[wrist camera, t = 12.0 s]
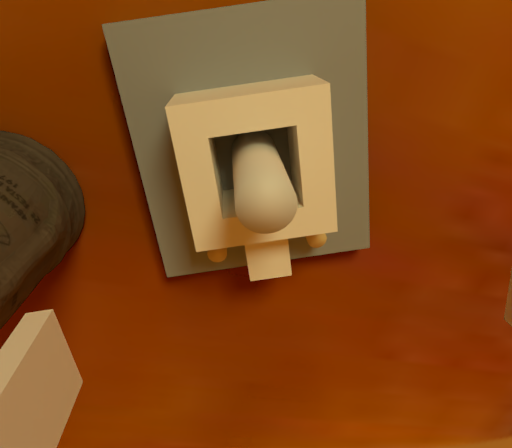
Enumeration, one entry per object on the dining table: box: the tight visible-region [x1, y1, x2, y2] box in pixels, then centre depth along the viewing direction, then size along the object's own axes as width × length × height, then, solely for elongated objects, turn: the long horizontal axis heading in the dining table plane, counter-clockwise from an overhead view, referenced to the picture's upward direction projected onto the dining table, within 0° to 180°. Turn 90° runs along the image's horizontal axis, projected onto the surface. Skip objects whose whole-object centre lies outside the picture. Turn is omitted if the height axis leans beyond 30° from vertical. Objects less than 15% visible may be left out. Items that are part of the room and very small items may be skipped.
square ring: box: [165, 74, 338, 281], centre depth 28 cm, size 13×9×5 cm
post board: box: [102, 0, 370, 277], centre depth 25 cm, size 18×16×12 cm
